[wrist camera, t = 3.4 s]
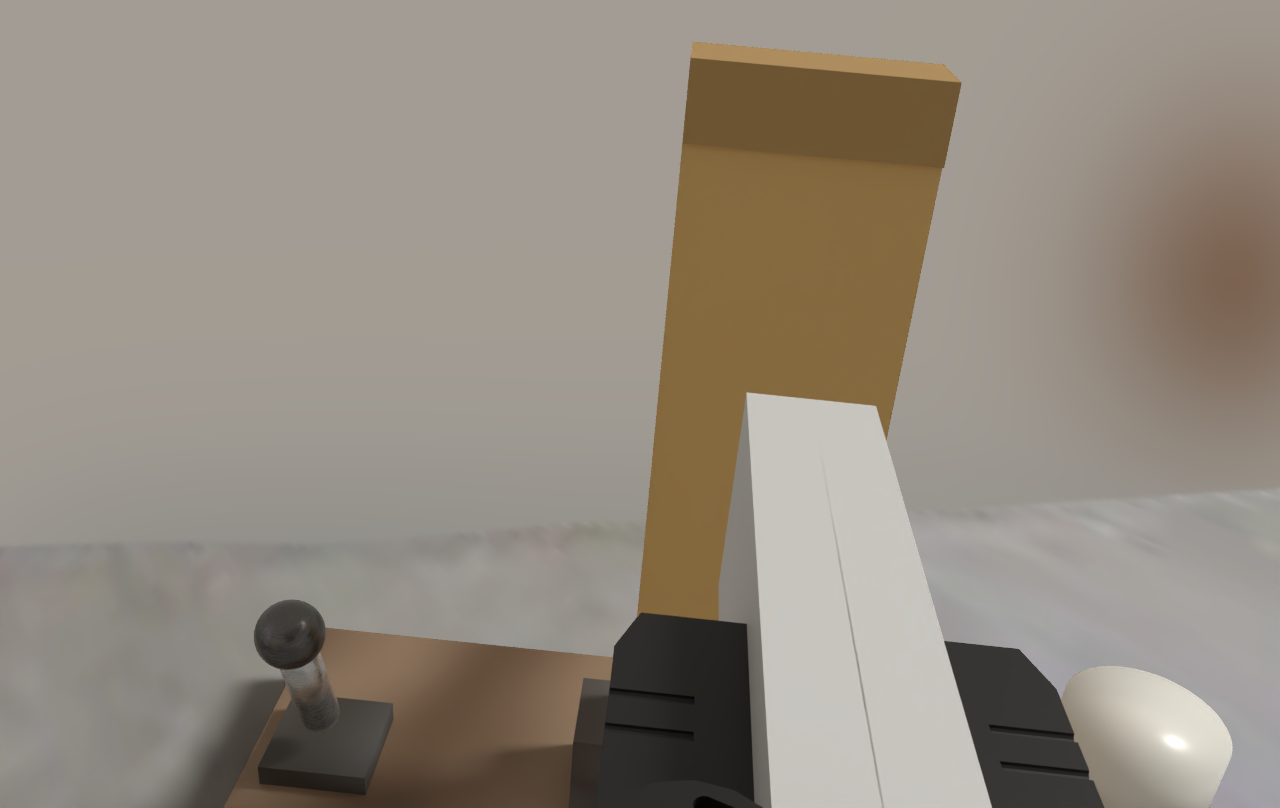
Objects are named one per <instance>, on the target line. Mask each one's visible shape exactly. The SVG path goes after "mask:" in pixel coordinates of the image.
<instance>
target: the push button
mask: <svg viewBox="0 0 1280 808" xmlns="http://www.w3.org/2000/svg"><path fill="white" fill-rule="evenodd" d="M1061 702H1062V704H1063V707H1064V709H1065V712H1066V714H1067V717H1068V719H1069V721H1070V724H1071V726H1072V729H1073V731H1074V742H1078V744H1079V746H1080V749H1081V751H1082V754H1083V756H1084V758H1085V761H1086V763H1087V766H1088V768H1089V780H1093V781H1094V783H1095V786H1096V788H1097V791H1098V793H1099V795H1100V798H1101V800H1102V803H1103V805H1104V808H1209V807H1210V805H1211V803H1212V800H1213V798H1214V796H1215V793H1216V791H1217V789H1218V787H1219V784H1220V782H1221V780H1222V777H1223V775H1224V773H1225V770H1226V768H1227V766H1228V763H1229V761H1230V758H1231V756H1232V749H1233V748H1232V741H1231V737H1230V734H1229V732H1228V730H1227V728H1226V726H1225V725H1224V723H1223V722H1222V720H1221V719H1220V718H1219V716H1218V715H1217V714H1216V713H1215V712H1214V711H1213V710H1212V709H1211V708H1210V707H1209V706H1208V705H1207V704H1206V703H1205V702H1203V701H1202V700H1201V699H1200V698H1198V697H1197V696H1196V695H1194V694H1193V693H1191V692H1190V691H1188V690H1186V689H1185V688H1183V687H1182V686H1180V685H1178V684H1176V683H1174V682H1172V681H1170V680H1167V679H1165V678H1163V677H1160V676H1158V675H1155V674H1152V673H1149V672H1146V671H1142V670H1138V669H1134V668H1128V667H1121V666H1100V667H1093V668H1089V669H1086V670H1083V671H1081V672H1079V673H1078V674H1076V675H1074V676H1073V677H1072V678H1071V679H1070V680H1069V682H1068V683H1067V685H1066V687H1065V690H1064V693H1063V696H1062V700H1061Z"/></svg>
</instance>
